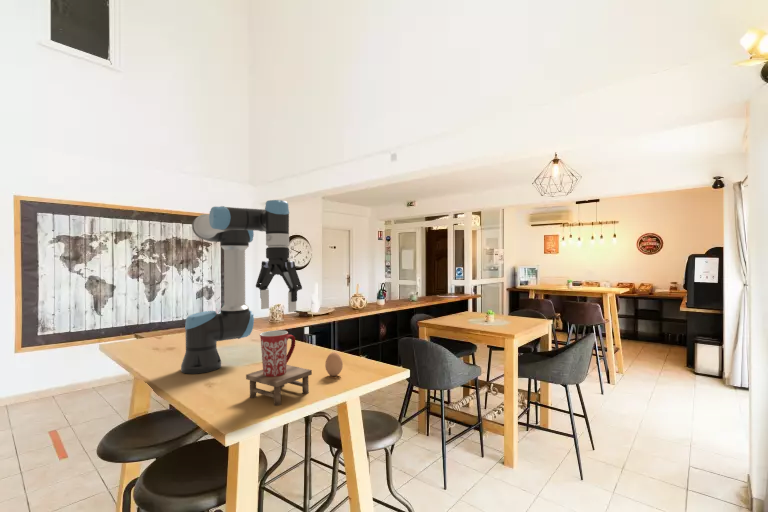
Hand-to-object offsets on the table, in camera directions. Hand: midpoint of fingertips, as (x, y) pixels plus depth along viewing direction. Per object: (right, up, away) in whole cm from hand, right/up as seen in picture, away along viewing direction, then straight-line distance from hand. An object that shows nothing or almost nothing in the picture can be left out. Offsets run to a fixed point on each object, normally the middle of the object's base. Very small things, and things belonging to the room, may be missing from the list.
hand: (278, 310), depth 127 cm
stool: (+1, -28, 0) cm, 28 cm away
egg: (+16, -28, +19) cm, 38 cm away
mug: (0, -21, 0) cm, 21 cm away
